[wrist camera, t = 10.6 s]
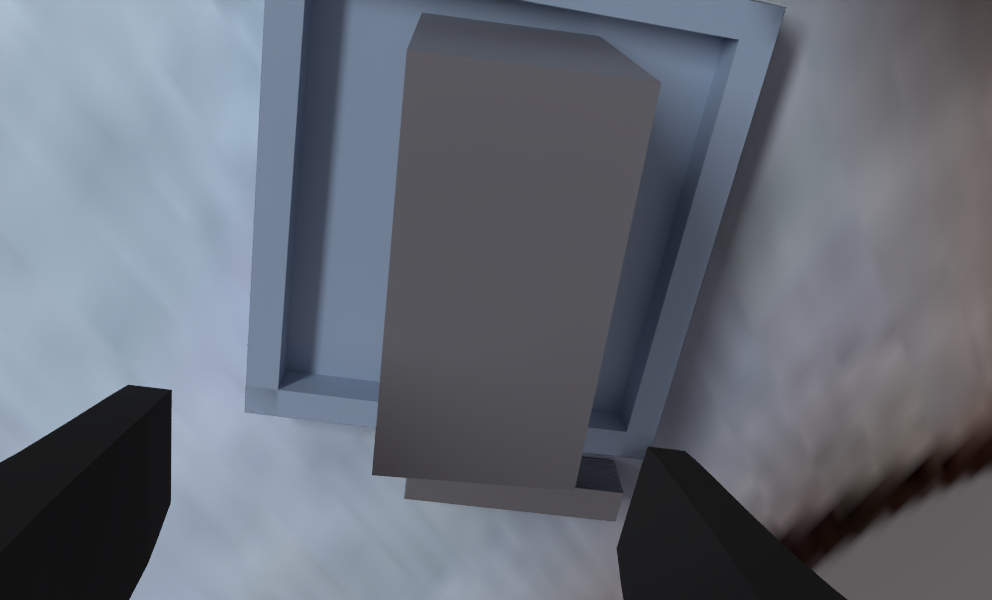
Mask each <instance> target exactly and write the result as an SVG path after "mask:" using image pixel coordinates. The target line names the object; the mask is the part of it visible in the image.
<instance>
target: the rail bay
mask: <svg viewBox="0 0 992 600" xmlns="http://www.w3.org/2000/svg"><path fill="white" fill-rule="evenodd" d="M622 497H623V490H622V487H621V483H620V480H619V476H618V473H617V470H616V466H615V463H614V461H612V460H603V459H595V458H586V457H582V458H581V462H580V467H579V472H578V476H577V481H576V486H575V491H571V490H558V489H545V488H532V487H520V486H507V485H494V484H481V483H468V482H455V481H443V480H430V479H417V478H406V486H405V497H404V499H413V500H422V501H431V502H440V503H450V504H459V505H468V506H477V507H487V508H496V509H505V510H514V511H524V512H533V513H542V514H551V515H561V516H570V517H579V518H588V519H598V520H607V521H615V520H616V517H617V514H618V510H619V507H620V503H621V500H622Z"/></svg>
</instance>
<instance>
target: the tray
mask: <svg viewBox="0 0 992 600" xmlns="http://www.w3.org/2000/svg"><path fill="white" fill-rule="evenodd" d="M785 9H786V7H782V6H778V5H774V4H769V3H765V2H761V1H755V0H265V8H264V28H263V49H262V69H261V89H260V110H259V130H258V150H257V171H256V191H255V211H254V232H253V252H252V272H251V293H250V313H249V334H248V354H247V374H246V395H245V413H254V414H262V415H271V416H279V417H288V418H296V419H305V420H313V421H322V422H330V423H339V424H347V425H356V426H364V427H373V428H376V421H377V409H378V397H379V384H380V372H381V360H382V348H383V335H384V323H385V311H386V298H387V286H388V274H389V261H390V249H391V237H392V225H393V212H394V200H395V188H396V175H397V163H398V151H399V139H400V126H401V114H402V102H403V89H404V77H405V65H406V52H407V48H408V45H409V43H410V41H411V38H412V36H413V33H414V31H415V28H416V26H417V23H418V21H419V19H420V16H421V14H422V12H423V13H431V14H438V15H446V16H453V17H460V18H468V19H475V20H483V21H490V22H498V23H505V24H513V25H520V26H528V27H535V28H543V29H550V30H558V31H565V32H573V33H580V34H587V35H595V36H600V37H601V38H603V39H604V40H605V41H607V42H608V43H609V44H611V45H612V46H613V47H615V48H616V49H617V50H619V51H620V52H621V53H623V54H624V55H625V56H627V57H628V58H629V59H631V60H632V61H633V62H635V63H636V64H637V65H639V66H640V67H641V68H643V69H644V70H645V71H647V72H648V73H649V74H651V75H652V76H653V77H655V78H656V79H657V80H659V81H660V82H661V87H660V92H659V96H658V101H657V106H656V110H655V115H654V120H653V124H652V129H651V134H650V138H649V143H648V148H647V153H646V157H645V162H644V167H643V171H642V176H641V181H640V185H639V190H638V195H637V199H636V204H635V209H634V214H633V218H632V223H631V228H630V232H629V237H628V242H627V246H626V251H625V256H624V261H623V265H622V270H621V275H620V279H619V284H618V289H617V293H616V298H615V303H614V307H613V312H612V317H611V322H610V326H609V331H608V336H607V340H606V345H605V350H604V354H603V359H602V364H601V368H600V373H599V378H598V383H597V387H596V392H595V397H594V401H593V406H592V411H591V415H590V420H589V425H588V430H587V434H586V439H585V444H584V448H583V452H586V453H594V454H603V455H611V456H620V457H628V458H637V459H644V456H645V453H646V450H647V447H652V445H653V442H654V439H655V435H656V432H657V429H658V426H659V422H660V419H661V416H662V412H663V409H664V406H665V403H666V399H667V396H668V393H669V389H670V386H671V383H672V380H673V376H674V373H675V370H676V367H677V363H678V360H679V357H680V353H681V350H682V347H683V344H684V340H685V337H686V334H687V330H688V327H689V324H690V321H691V317H692V314H693V311H694V307H695V304H696V301H697V298H698V294H699V291H700V288H701V285H702V281H703V278H704V275H705V271H706V268H707V265H708V262H709V258H710V255H711V252H712V248H713V245H714V242H715V239H716V235H717V232H718V229H719V226H720V222H721V219H722V216H723V212H724V209H725V206H726V203H727V199H728V196H729V193H730V189H731V186H732V183H733V180H734V176H735V173H736V170H737V167H738V163H739V160H740V157H741V153H742V150H743V147H744V144H745V140H746V137H747V134H748V130H749V127H750V124H751V121H752V117H753V114H754V111H755V107H756V104H757V101H758V98H759V94H760V91H761V88H762V85H763V81H764V78H765V75H766V71H767V68H768V65H769V62H770V58H771V55H772V52H773V48H774V45H775V42H776V39H777V35H778V32H779V29H780V26H781V22H782V19H783V16H784V12H785Z"/></svg>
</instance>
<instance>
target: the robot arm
mask: <svg viewBox="0 0 992 600" xmlns="http://www.w3.org/2000/svg"><path fill="white" fill-rule="evenodd" d="M171 408H172V390H168V389H159V388H151V387H142V386H134V385H127V386H126V387H124V388H122V389H120V390H119V391H117V392H115V393H114V394H112V395H110V396H109V397H107V398H106V399H104V400H102V401H101V402H99V403H98V404H96V405H94V406H93V407H91V408H90V409H88V410H87V411H85V412H83V413H82V414H80V415H79V416H77V417H75V418H74V419H72V420H71V421H69V422H68V423H66V424H64V425H63V426H61V427H59V428H58V429H56V430H55V431H53V432H51V433H50V434H48V435H46V436H45V437H43V438H41V439H40V440H38V441H37V442H35V443H33V444H32V445H30V446H28V447H27V448H25V449H23V450H22V451H20V452H18V453H17V454H15V455H13V456H11V457H9V458H8V459H6V460H4V461H2V462H0V600H129V599H130V597H131V595H132V593H133V591H134V589H135V587H136V586H137V584H138V582H139V580H140V578H141V576H142V574H143V572H144V570H145V568H146V566H147V564H148V562H149V559H150V557H151V554H152V552H153V549H154V547H155V544H156V541H157V539H158V536H159V533H160V531H161V528H162V525H163V522H164V520H165V517H166V514H167V511H168V509H169V506H170V503H171ZM617 554H618V563H619V571H620V579H621V586H622V593H623V599H624V600H847V599H846V598H845V597H843V596H842V595H841V594H840V593H838V592H837V591H836V590H835V589H833V588H832V587H831V586H830V585H829V584H827V583H826V582H825V581H824V580H823V579H822V578H820V577H819V576H818V575H817V574H816V573H815V572H814V571H812V570H811V569H810V568H809V567H808V566H807V565H805V564H804V563H803V562H802V561H801V560H800V559H798V558H797V557H796V556H795V555H794V554H793V553H792V552H791V551H790V550H788V549H787V548H786V547H785V546H784V545H783V544H782V543H781V542H780V541H779V540H778V539H776V538H775V537H774V536H773V535H772V534H771V533H770V532H769V531H768V530H767V529H766V528H765V527H764V526H763V525H762V524H761V523H760V522H759V521H757V520H756V519H755V518H754V517H753V516H752V515H751V514H750V513H749V512H748V511H747V510H746V509H745V508H744V507H743V506H742V505H741V504H740V503H739V502H738V501H737V500H736V499H735V498H734V497H733V496H732V495H731V494H730V493H729V492H728V491H727V490H726V489H725V488H724V487H723V486H722V485H721V484H720V483H719V482H718V481H717V480H716V479H715V478H714V477H713V476H712V475H711V474H710V473H709V472H707V471H706V470H705V469H704V468H703V467H702V466H701V465H700V464H699V463H698V462H697V461H696V460H695V459H694V458H692V457H691V456H690V455H689V454H688V453H687V452H685V451H680V450H672V449H663V448H655V447H647V450H646V453H645V456H644V460H643V463H642V466H641V470H640V473H639V476H638V480H637V483H636V486H635V490H634V493H633V496H632V499H631V503H630V506H629V509H628V513H627V516H626V519H625V523H624V526H623V529H622V533H621V536H620V539H619V543H618V546H617Z"/></svg>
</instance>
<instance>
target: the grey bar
mask: <svg viewBox="0 0 992 600" xmlns="http://www.w3.org/2000/svg"><path fill="white" fill-rule="evenodd" d="M660 87H661V82H660V81H659V80H657V79H656V78H655V77H653V76H652V75H651V74H649V73H648V72H647V71H645V70H644V69H643V68H641V67H640V66H639V65H637V64H636V63H635V62H633V61H632V60H631V59H629V58H628V57H627V56H625V55H624V54H623V53H621V52H620V51H619V50H617V49H616V48H615V47H613V46H612V45H611V44H609V43H608V42H607V41H605V40H604V39H603V38H601V37H600V36H595V35H587V34H580V33H573V32H565V31H558V30H550V29H543V28H535V27H528V26H520V25H513V24H505V23H498V22H490V21H483V20H475V19H468V18H460V17H453V16H446V15H438V14H431V13H423V12H422V14H421V16H420V19H419V21H418V23H417V26H416V28H415V31H414V33H413V36H412V38H411V41H410V43H409V45H408V48H407V52H406V65H405V77H404V89H403V102H402V114H401V126H400V139H399V151H398V163H397V175H396V188H395V200H394V212H393V225H392V237H391V249H390V261H389V274H388V286H387V298H386V311H385V323H384V335H383V348H382V360H381V372H380V384H379V397H378V409H377V421H376V434H375V446H374V458H373V470H372V475H378V476H391V477H404V478H417V479H430V480H443V481H455V482H468V483H481V484H494V485H507V486H520V487H532V488H545V489H558V490H571V491H575V486H576V481H577V476H578V472H579V467H580V462H581V458H582V453H583V448H584V444H585V439H586V434H587V430H588V425H589V420H590V415H591V411H592V406H593V401H594V397H595V392H596V387H597V383H598V378H599V373H600V368H601V364H602V359H603V354H604V350H605V345H606V340H607V336H608V331H609V326H610V322H611V317H612V312H613V307H614V303H615V298H616V293H617V289H618V284H619V279H620V275H621V270H622V265H623V261H624V256H625V251H626V246H627V242H628V237H629V232H630V228H631V223H632V218H633V214H634V209H635V204H636V199H637V195H638V190H639V185H640V181H641V176H642V171H643V167H644V162H645V157H646V153H647V148H648V143H649V138H650V134H651V129H652V124H653V120H654V115H655V110H656V106H657V101H658V96H659V92H660Z"/></svg>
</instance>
